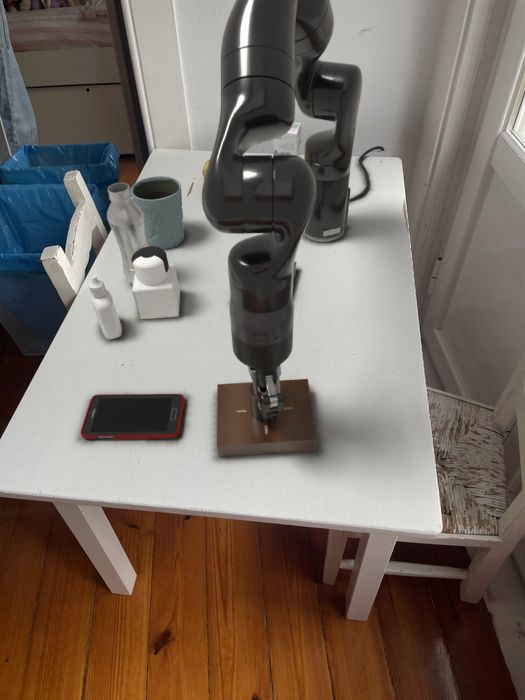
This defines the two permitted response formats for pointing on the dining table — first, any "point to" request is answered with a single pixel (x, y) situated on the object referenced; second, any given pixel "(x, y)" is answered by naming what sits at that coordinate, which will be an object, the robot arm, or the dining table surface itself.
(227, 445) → the dial panel
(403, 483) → the dining table surface
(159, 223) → the teal plant pot
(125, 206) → the plastic bottle
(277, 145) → the syrup box
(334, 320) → the dining table surface
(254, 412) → the dial
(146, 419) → the cell phone
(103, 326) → the eye dropper bottle
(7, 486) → the dining table surface
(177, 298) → the medicine bottle
